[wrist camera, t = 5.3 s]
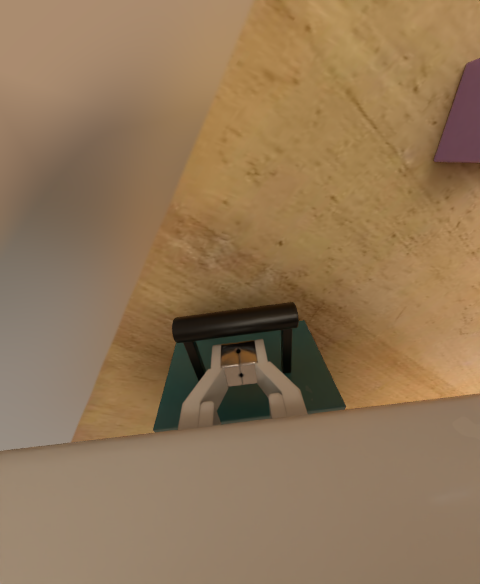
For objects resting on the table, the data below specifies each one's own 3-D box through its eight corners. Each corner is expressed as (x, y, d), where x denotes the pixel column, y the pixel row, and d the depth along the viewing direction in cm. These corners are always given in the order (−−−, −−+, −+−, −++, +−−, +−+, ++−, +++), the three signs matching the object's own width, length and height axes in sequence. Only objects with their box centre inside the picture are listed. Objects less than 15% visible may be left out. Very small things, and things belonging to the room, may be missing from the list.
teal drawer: (155, 282, 16) (106, 371, 9) (308, 262, 15) (368, 337, 9) (207, 410, 26) (202, 493, 20) (298, 399, 26) (323, 478, 20)
